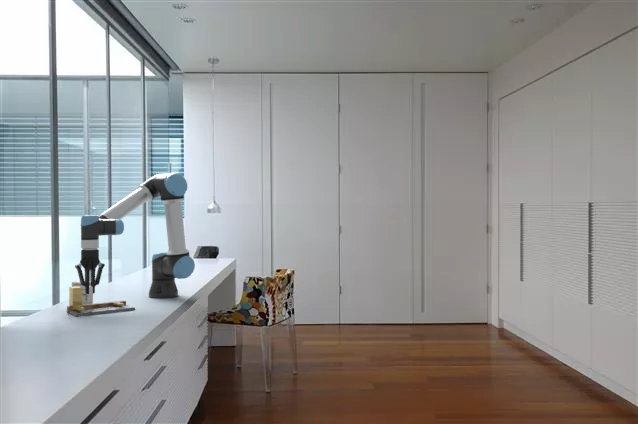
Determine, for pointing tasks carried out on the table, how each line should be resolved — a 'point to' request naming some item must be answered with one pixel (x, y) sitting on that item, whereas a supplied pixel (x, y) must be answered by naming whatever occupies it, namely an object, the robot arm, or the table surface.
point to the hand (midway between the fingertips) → (90, 300)
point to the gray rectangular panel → (101, 310)
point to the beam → (100, 305)
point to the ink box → (84, 295)
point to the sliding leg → (75, 298)
